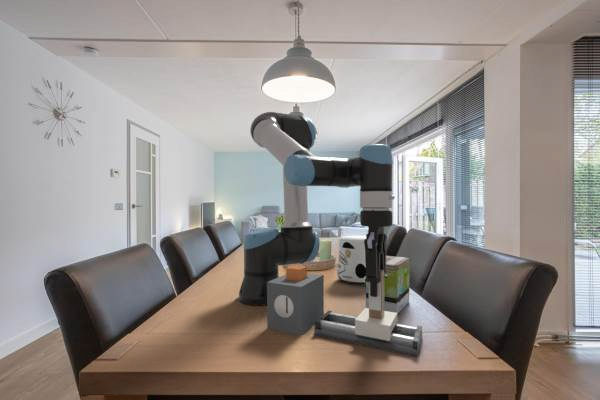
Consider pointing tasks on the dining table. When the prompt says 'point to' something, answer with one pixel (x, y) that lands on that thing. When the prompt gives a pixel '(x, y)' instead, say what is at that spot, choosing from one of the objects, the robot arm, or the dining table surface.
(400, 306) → the tea box
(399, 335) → the rail track
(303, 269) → the orange cube
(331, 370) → the dining table surface
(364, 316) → the carriage
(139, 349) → the dining table surface
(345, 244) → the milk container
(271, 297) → the gauge cabinet
